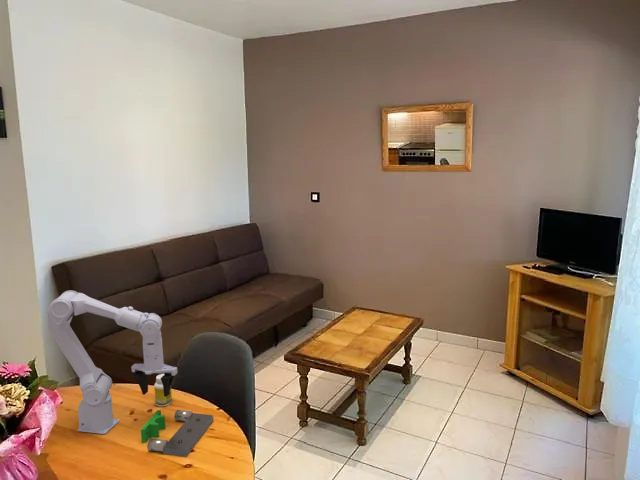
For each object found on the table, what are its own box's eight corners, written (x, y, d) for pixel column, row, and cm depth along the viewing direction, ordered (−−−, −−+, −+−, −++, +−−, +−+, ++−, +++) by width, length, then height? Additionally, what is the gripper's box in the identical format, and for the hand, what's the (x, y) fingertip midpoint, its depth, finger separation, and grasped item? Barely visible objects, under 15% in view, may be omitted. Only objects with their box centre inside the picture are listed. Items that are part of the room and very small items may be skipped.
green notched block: (153, 444, 145) (152, 430, 144) (141, 443, 146) (140, 429, 145) (169, 423, 156) (168, 410, 155) (158, 422, 157) (157, 409, 156)
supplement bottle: (169, 407, 166) (167, 380, 164) (153, 407, 166) (151, 380, 164) (174, 399, 171) (172, 372, 169) (158, 399, 171) (156, 372, 169)
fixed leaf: (147, 452, 141) (146, 442, 140) (179, 416, 160) (178, 407, 159) (185, 457, 139) (185, 446, 138) (213, 420, 157) (213, 411, 157)
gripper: (124, 357, 151) (128, 398, 153) (168, 360, 148) (171, 402, 150) (137, 348, 157) (140, 387, 160) (179, 351, 154) (181, 391, 157)
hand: (156, 394), depth 155 cm, fingers open, 7 cm apart
